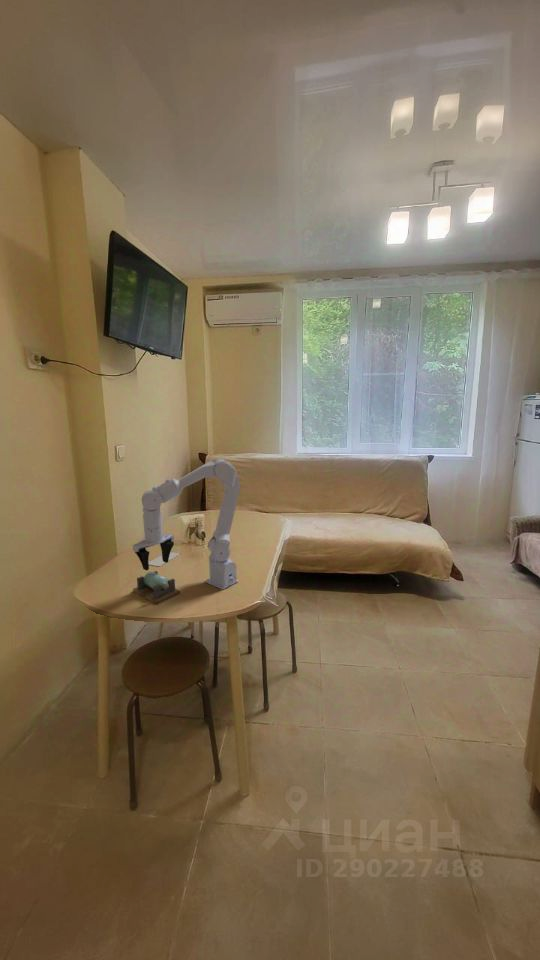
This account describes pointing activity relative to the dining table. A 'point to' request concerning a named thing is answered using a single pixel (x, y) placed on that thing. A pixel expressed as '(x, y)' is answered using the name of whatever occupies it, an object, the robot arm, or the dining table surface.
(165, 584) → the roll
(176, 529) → the dining table surface
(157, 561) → the smartphone
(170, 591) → the holder
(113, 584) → the dining table surface
